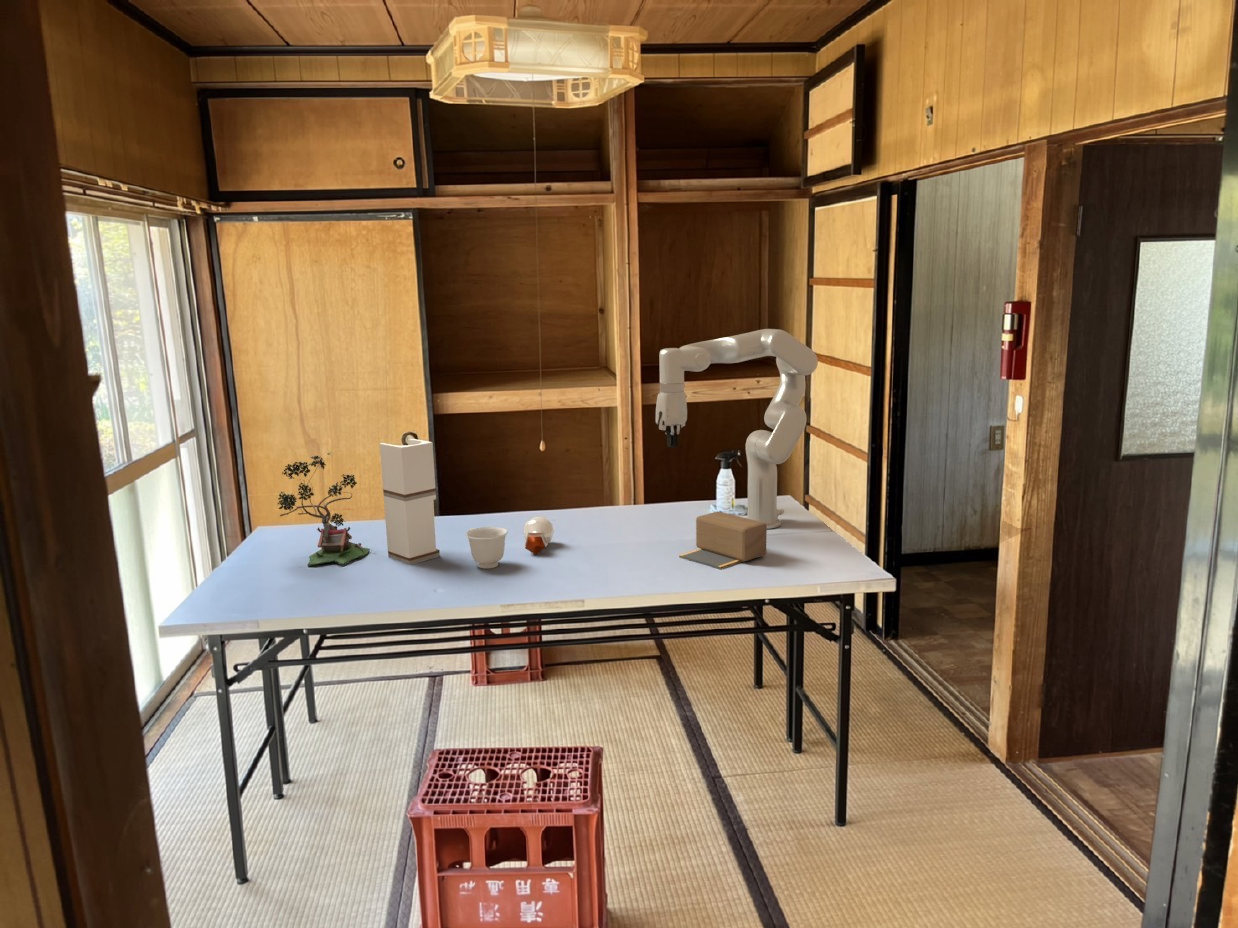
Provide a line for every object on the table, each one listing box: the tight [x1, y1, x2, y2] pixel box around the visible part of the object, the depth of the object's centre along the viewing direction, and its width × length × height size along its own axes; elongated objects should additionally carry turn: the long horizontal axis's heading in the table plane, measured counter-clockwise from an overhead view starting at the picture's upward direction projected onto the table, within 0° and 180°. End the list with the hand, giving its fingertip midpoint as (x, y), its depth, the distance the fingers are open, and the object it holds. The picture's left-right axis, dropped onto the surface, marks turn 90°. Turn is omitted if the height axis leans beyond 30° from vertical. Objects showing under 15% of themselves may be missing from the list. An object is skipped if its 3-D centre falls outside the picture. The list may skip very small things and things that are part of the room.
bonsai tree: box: [277, 455, 371, 568], centre depth 255 cm, size 35×24×32 cm
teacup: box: [465, 526, 508, 569], centre depth 252 cm, size 12×15×10 cm
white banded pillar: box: [379, 437, 441, 566], centre depth 258 cm, size 11×11×35 cm
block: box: [695, 511, 768, 562], centre depth 256 cm, size 10×10×20 cm
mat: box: [678, 548, 744, 570], centre depth 255 cm, size 18×16×1 cm
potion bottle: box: [522, 515, 555, 556], centre depth 267 cm, size 9×10×15 cm
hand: (672, 446), depth 272 cm, fingers closed
